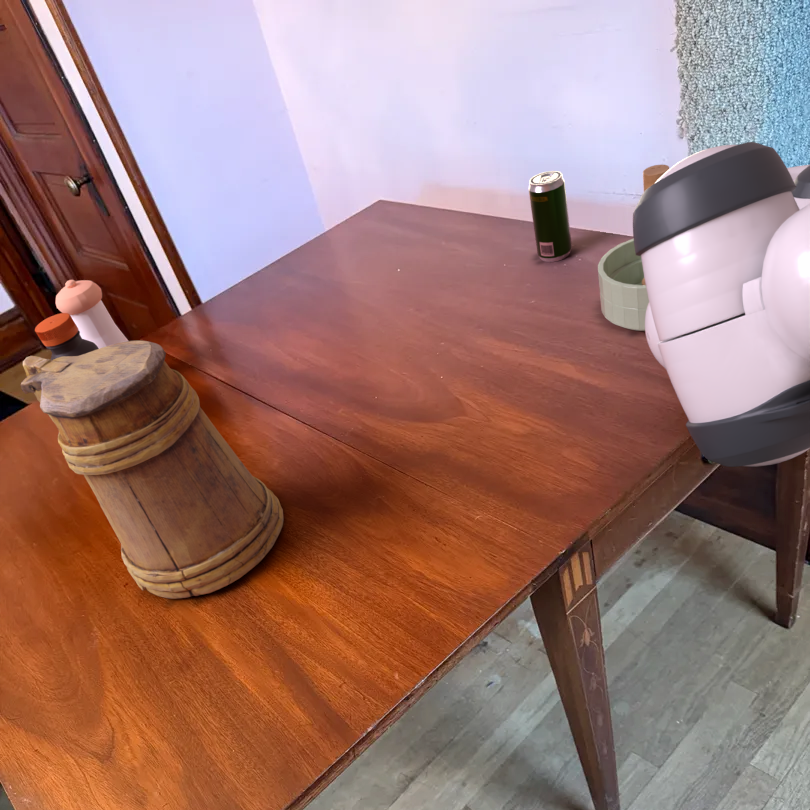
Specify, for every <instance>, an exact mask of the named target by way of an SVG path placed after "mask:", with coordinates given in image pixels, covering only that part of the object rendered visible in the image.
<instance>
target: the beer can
mask: <svg viewBox="0 0 810 810" xmlns="http://www.w3.org/2000/svg"><path fill="white" fill-rule="evenodd" d="M528 184H529V185H528V195H529V202H530V203H529V204H530V209H531V217H532V224H533V232H534V239H535V246H536V253H537V257H539V259H540V261H542V262H546V263H554V262H558V261H562V260H564V259H566V258H567V257H569V255H570V254H571V251H572V248H573V246H572V236H571V227H570V217H569V208H568V200H567V191H566V189H567V188H566V181H565V179H564V177H563V173H562V171H559V170H549V171H544V172H540V173H538V174H535V175H534V176H532V177H531V178H530V179H529V181H528Z"/></svg>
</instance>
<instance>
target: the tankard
mask: <svg viewBox="0 0 810 810" xmlns="http://www.w3.org/2000/svg"><path fill="white" fill-rule="evenodd" d="M166 355H167V352H166V351H165V350H164V348H163V347H162V345H160V344H158V343H156V342H153V341H149V340H148V341H147V340H128V341H127V342H121V343H116V344H113V345H110V346H106V347H103V348H100V349H97V350H94V351H91V352H89V353H86V354H83V355H80V356H64V357H59V358H56V359H54V360H51V358H50V359H49V358H44V357H41V356H37V355H36V356H35V355H30V356H26V357H25V359H24V360H22V367H23V370H24V372H25V376H26V377H25V378H24V379H23V380H22V381H21V382H20V389H21V391H22V392H23V393H24V394H25V395H27V394H29V393H32V394H34V396H35V398H36V399H37V401H38V402H39V408H40V410H41V411H42V412H43V414H46V415H48V417H49V418H50V420H51V421H52V422H53V423H54V425H55V427H56V429H57V430H58V435H57V442H58V445H59V446H60V448H61V453H62V454H63V456H64V460H65V462H66V463H67V465H68V468H69V469H70V470H72V471H73V472H74V473H75V474H77V475H83V477H84V478H85V480H86V482H87V483H88V485H89V487H90V489H91V490H92V492H93V494H94V496H95V498H96V500H97V501H98V504H99V506H100V508H101V510H102V512H103V514H104V515H105V517H106V519H107V521H108V522H109V524H110V526H111V528H112V530H113V532H114V533H115V535H116V537H117V539H118V541H119V543H120V552H121V559H122V561H123V564H124V565H125V567H126V569H127V571H128V573H129V574H130V576H131V577H132V579H133V580H134V581H135V583H136V584H137V586H138V587H139V589H141V591H142V592H144V591H147V592H148V593H150V594H153V595H154V596H157V597H160V598H166V599H172V600H173V599H186V598H191V597H193V596H195V597H198V596H202V595H206V594H207V595H208V594H211V593H213V592H216V591H218V590H221V589H223V588H224V587H227V586H228V585H231V584H232V583H234V582H235V581H237V580H240V579H241V578H242V577H243V576H244V575H246V574H247V573H249V572H250V571H251V570H253V568H255V567H256V566H257V565H258V564H259V563H260V562H262V560H263V559H264V558H265V557H266V555H267V554H268V553H269V552H270V551H271V550H272V548H273V546H274V545H275V543H276V541H277V539H278V537H279V535H280V533H281V531H282V528H283V526H284V520H285V519H284V509H283V508H282V505H281V503H280V500H279V498H278V497H277V496H276V495H275V494H274V491H272V490H271V489H269V488H268V487H267V485H266V484H265V483H264V482H263V481H261V479H259V478H258V477H255V476H253V474H252V472H250V470H248V468H247V467H246V466H245V464H244V462H243V461H242V460H241V459H240V458H239V457H238V455H237V454H236V453H235V451H234V450H233V449H232V447H231V446H230V445H229V443H228V442H227V441H226V439H225V438H224V437H223V436H222V434H221V433H220V431H219V430H218V429H217V427H216V426H215V425H214V424H213V422H212V421H211V419H210V418H209V417H208V415H207V414H206V413H205V411H204V409H202V408H201V404H200V398H199V396H198V393H197V391H196V390H195V389H194V388H193V387H192V386H191V385H190V383H189V382H188V380H187V379H186V378H185V376H183V375H182V373H180V372H179V371H178V370H176V369H173V368H170V366H169V365H168V363H167V362H166Z"/></svg>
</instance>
